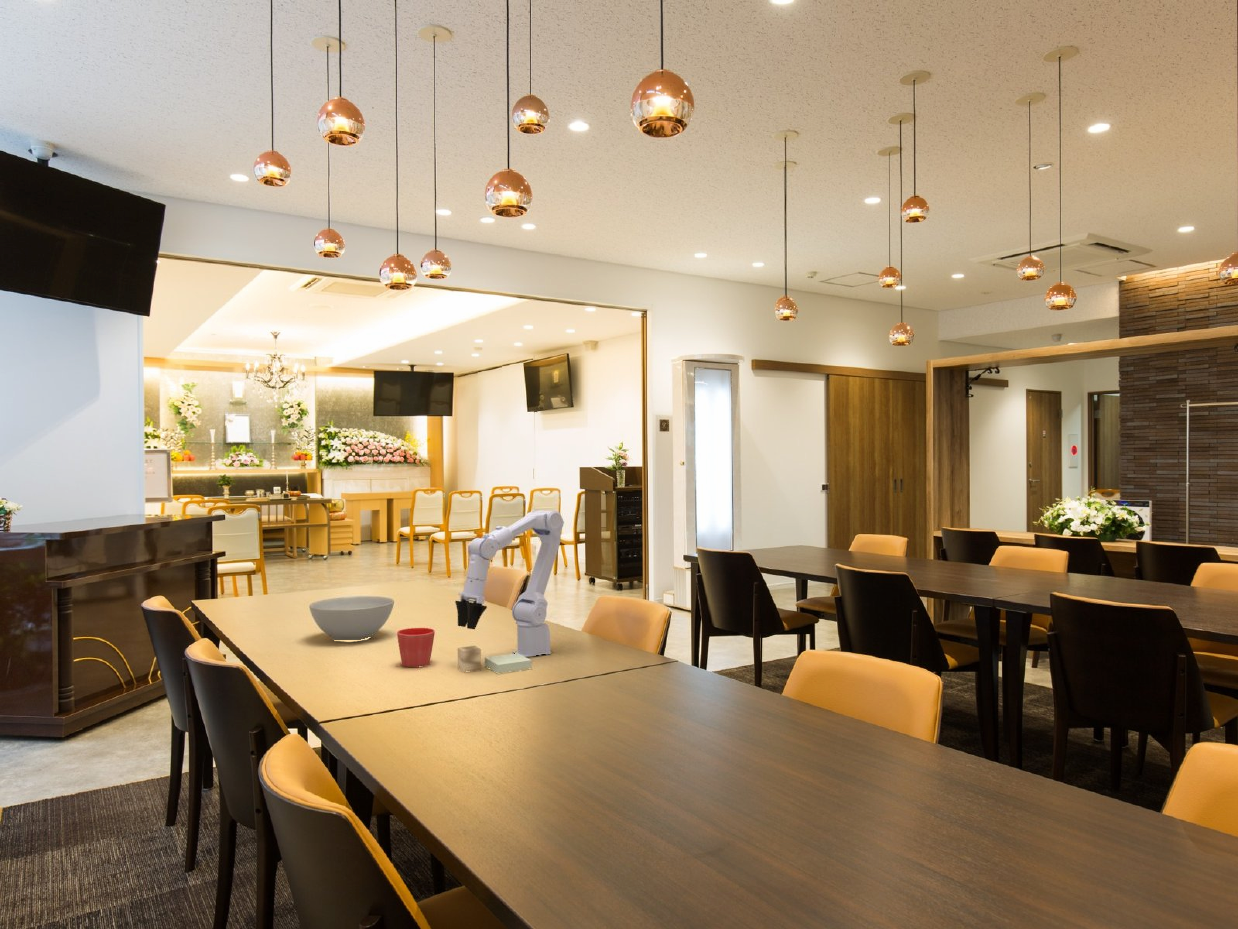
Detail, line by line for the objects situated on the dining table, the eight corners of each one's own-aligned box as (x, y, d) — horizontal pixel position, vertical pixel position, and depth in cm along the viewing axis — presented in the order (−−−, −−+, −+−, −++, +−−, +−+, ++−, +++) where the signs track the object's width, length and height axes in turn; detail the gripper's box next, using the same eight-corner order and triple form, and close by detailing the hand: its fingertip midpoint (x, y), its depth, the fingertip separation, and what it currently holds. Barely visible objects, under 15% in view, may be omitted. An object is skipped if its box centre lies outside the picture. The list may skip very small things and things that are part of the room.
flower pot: (440, 660, 240) (439, 627, 240) (427, 669, 229) (427, 635, 229) (405, 659, 241) (405, 626, 241) (391, 669, 230) (391, 634, 230)
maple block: (474, 666, 232) (474, 645, 232) (480, 670, 228) (480, 649, 228) (457, 669, 230) (457, 647, 230) (463, 673, 225) (463, 651, 225)
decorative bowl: (306, 635, 278) (306, 599, 278) (387, 628, 289) (387, 594, 289) (313, 651, 253) (312, 612, 253) (400, 642, 265) (400, 605, 265)
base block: (517, 663, 237) (517, 653, 237) (531, 670, 229) (531, 660, 229) (484, 668, 232) (484, 657, 232) (498, 675, 224) (497, 664, 224)
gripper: (454, 576, 237) (444, 623, 234) (471, 578, 224) (461, 627, 222) (476, 580, 240) (467, 626, 237) (495, 582, 228) (485, 631, 225)
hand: (466, 627), depth 230 cm, fingers open, 7 cm apart
